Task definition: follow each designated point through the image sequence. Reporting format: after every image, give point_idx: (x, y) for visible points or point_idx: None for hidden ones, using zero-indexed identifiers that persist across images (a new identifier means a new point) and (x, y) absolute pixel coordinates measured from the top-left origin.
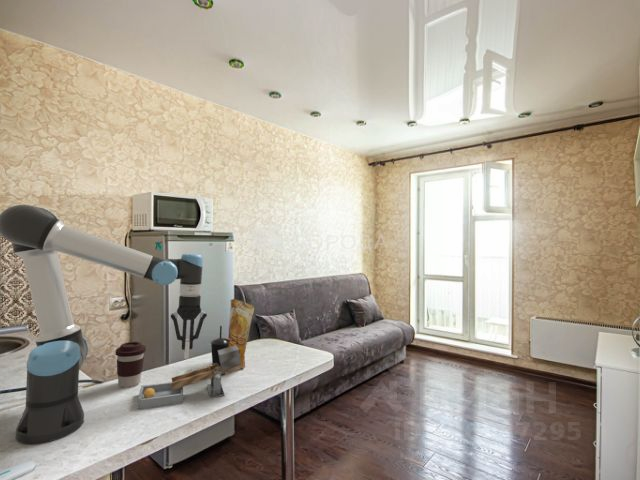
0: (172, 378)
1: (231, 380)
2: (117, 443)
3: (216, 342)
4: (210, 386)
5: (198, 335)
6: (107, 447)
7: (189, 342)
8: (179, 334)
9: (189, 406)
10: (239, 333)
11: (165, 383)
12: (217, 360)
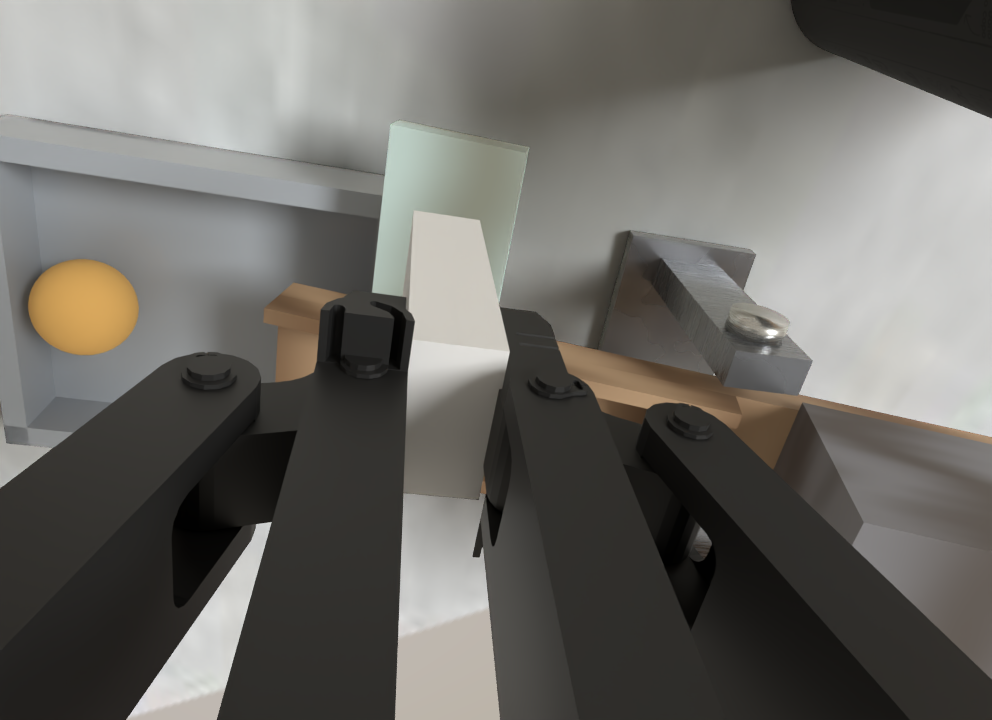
0: (274, 321)
1: (870, 217)
2: None
3: None
4: (641, 300)
5: (695, 594)
6: None
7: (473, 482)
8: (190, 611)
9: (410, 505)
10: None
11: (224, 188)
12: (908, 80)
